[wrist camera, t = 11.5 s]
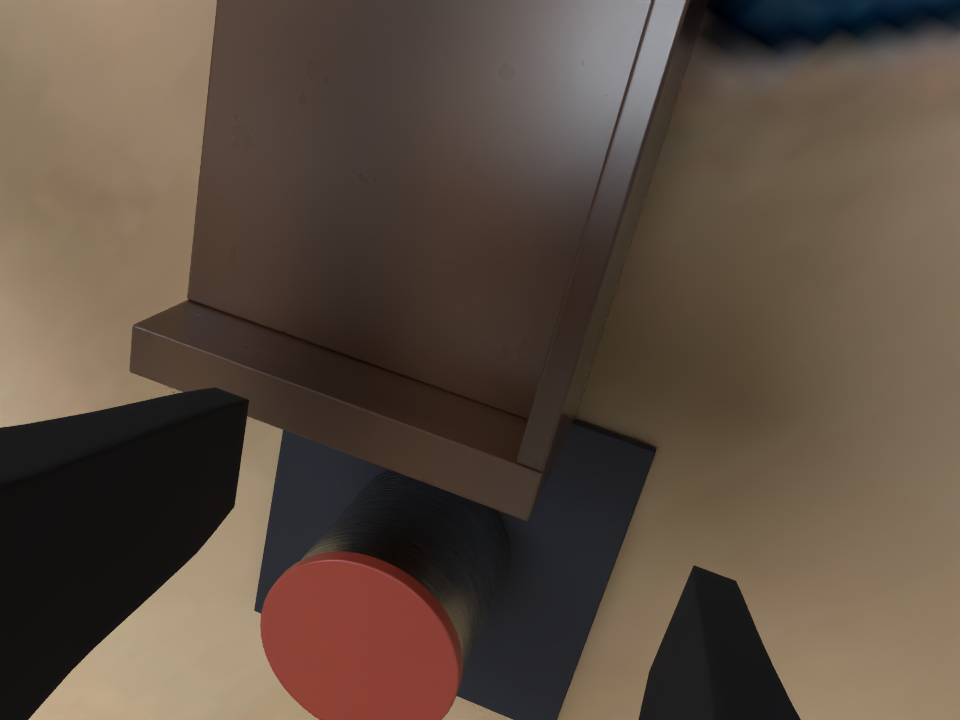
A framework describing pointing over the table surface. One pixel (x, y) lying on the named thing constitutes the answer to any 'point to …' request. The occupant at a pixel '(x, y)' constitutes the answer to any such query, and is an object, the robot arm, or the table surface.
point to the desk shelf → (420, 222)
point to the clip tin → (387, 603)
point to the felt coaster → (532, 567)
